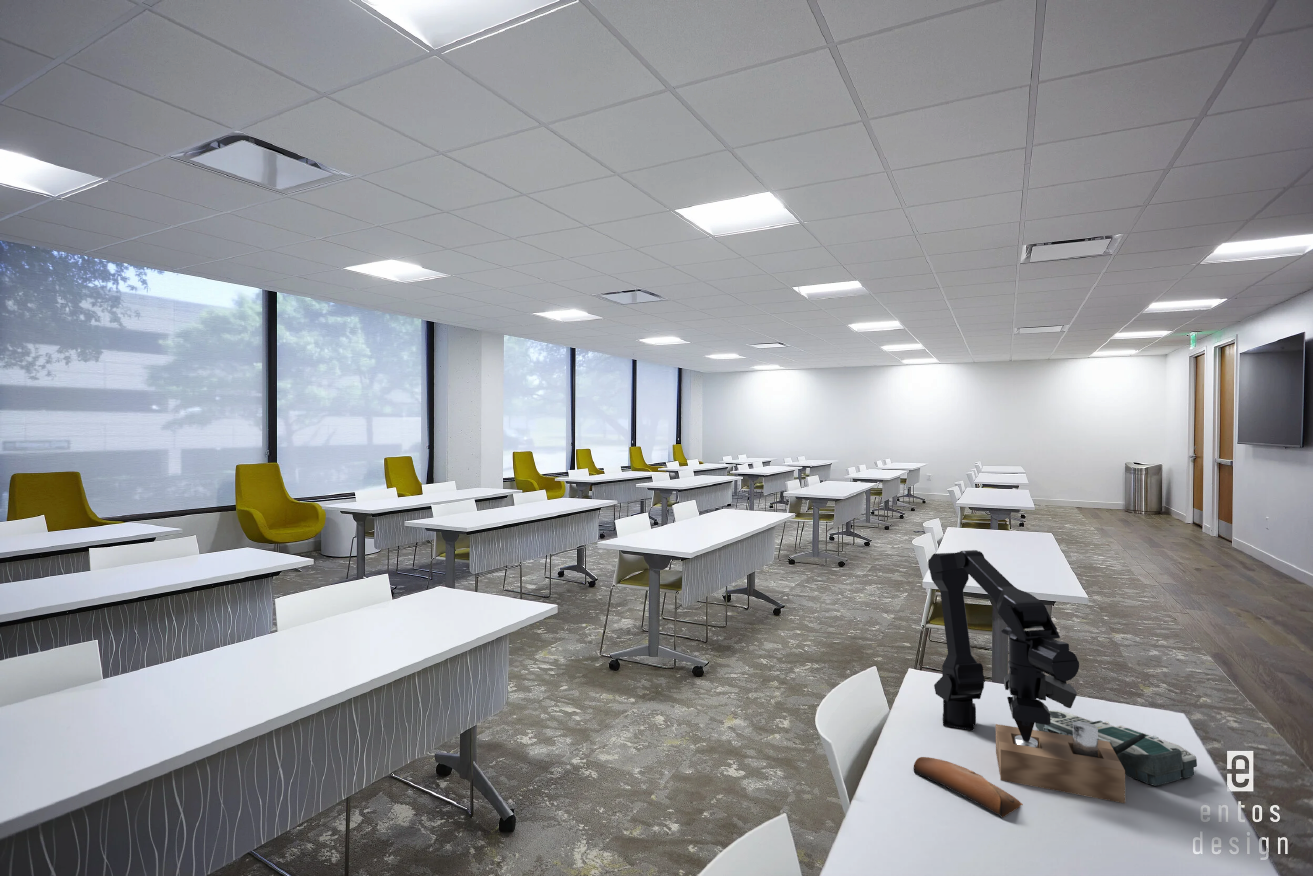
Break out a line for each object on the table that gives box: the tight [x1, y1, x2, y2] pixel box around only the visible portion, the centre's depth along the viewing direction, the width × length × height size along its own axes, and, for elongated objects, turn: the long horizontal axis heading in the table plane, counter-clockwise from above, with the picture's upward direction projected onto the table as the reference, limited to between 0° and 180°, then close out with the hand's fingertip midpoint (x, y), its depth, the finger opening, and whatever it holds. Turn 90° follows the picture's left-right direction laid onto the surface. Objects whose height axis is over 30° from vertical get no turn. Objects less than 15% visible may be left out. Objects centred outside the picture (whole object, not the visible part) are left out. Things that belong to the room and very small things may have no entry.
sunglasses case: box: [913, 756, 1023, 818], centre depth 120 cm, size 18×7×7 cm
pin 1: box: [1015, 735, 1038, 748], centre depth 127 cm, size 4×4×6 cm
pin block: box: [995, 723, 1126, 804], centre depth 125 cm, size 20×12×6 cm, turn 66°
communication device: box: [1034, 709, 1198, 787], centre depth 135 cm, size 14×28×10 cm, turn 19°
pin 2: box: [1073, 722, 1098, 758], centre depth 123 cm, size 4×4×6 cm
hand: (1026, 740), depth 127 cm, fingers closed, pressing on pin 1
